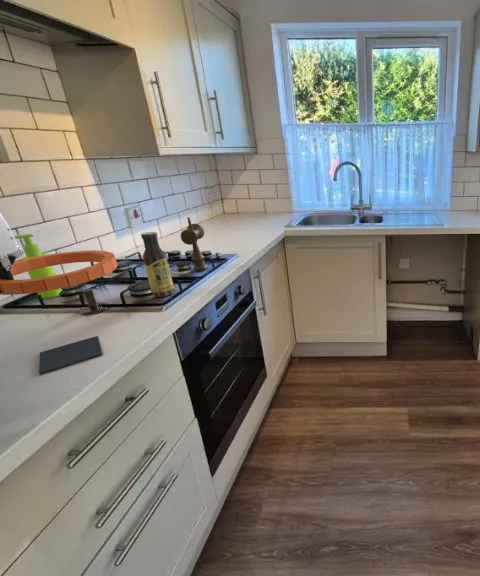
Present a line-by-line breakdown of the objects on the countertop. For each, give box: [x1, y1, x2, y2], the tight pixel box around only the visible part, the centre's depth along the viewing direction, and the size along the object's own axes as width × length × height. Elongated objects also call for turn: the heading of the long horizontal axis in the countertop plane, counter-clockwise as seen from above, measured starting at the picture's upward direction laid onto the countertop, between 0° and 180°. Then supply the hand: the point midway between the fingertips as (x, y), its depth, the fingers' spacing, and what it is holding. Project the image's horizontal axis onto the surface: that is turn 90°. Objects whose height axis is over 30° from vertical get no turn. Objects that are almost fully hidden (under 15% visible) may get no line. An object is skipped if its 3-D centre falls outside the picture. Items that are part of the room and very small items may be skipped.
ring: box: [0, 250, 119, 296], centre depth 86 cm, size 24×24×3 cm
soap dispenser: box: [14, 233, 63, 300], centre depth 113 cm, size 6×7×20 cm
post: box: [78, 288, 109, 316], centre depth 105 cm, size 7×7×6 cm
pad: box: [38, 335, 104, 375], centre depth 84 cm, size 11×11×1 cm
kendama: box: [180, 216, 209, 272], centre depth 132 cm, size 6×10×20 cm, turn 12°
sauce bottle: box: [140, 231, 175, 298], centre depth 111 cm, size 7×6×20 cm
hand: (1, 290), depth 77 cm, fingers closed on ring, 2 cm apart
